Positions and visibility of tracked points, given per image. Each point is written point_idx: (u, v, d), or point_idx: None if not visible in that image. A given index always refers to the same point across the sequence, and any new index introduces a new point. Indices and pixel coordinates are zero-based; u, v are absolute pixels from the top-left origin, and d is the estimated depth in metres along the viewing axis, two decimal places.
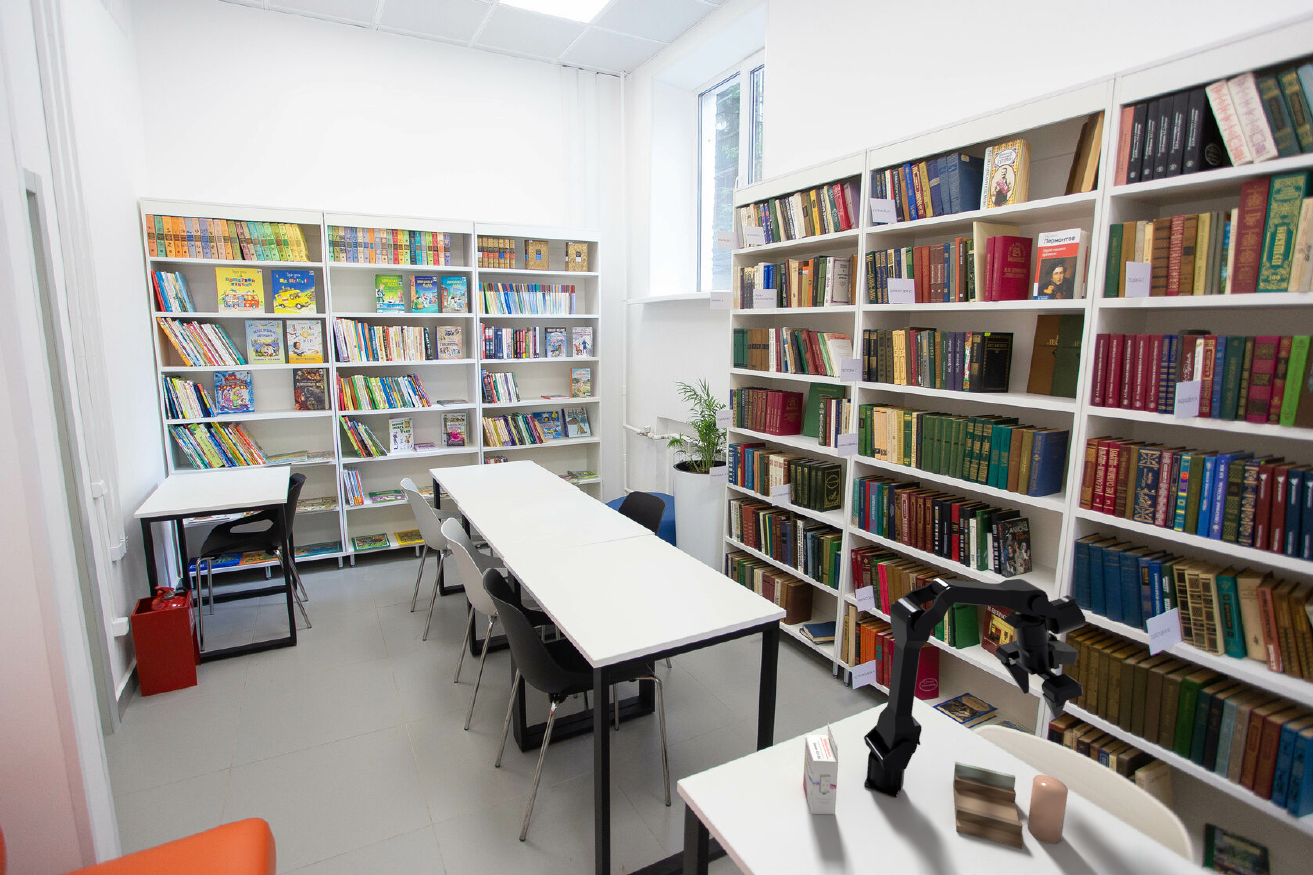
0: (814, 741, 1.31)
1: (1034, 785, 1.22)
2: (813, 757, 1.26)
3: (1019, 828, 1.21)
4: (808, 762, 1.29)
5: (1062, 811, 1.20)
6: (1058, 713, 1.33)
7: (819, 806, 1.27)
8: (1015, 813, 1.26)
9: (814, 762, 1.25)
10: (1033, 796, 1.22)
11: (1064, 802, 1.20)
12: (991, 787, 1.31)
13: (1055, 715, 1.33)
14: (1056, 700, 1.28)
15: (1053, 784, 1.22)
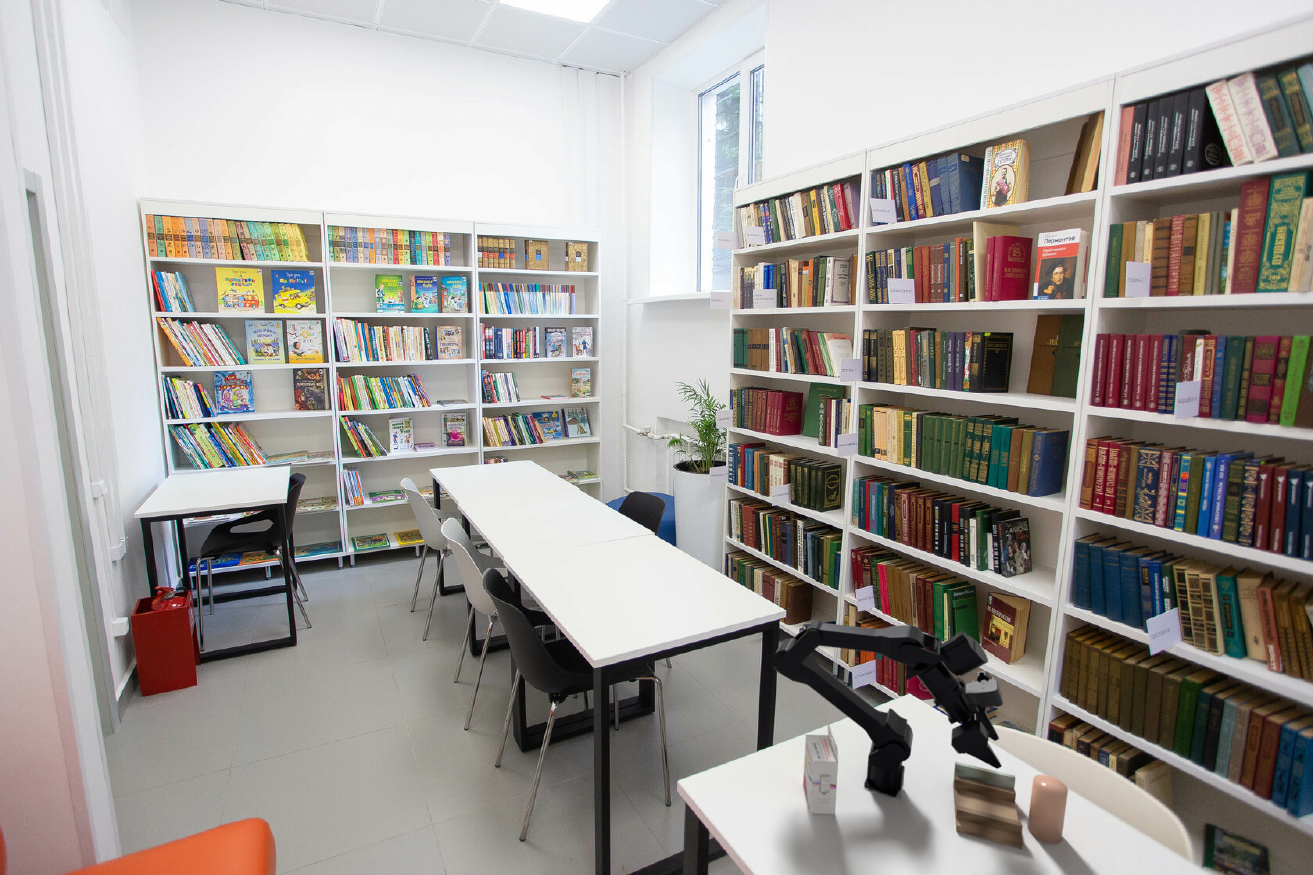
0: (814, 741, 1.31)
1: (1034, 785, 1.22)
2: (813, 757, 1.26)
3: (1019, 828, 1.21)
4: (808, 762, 1.29)
5: (1062, 811, 1.20)
6: (994, 763, 1.21)
7: (819, 806, 1.27)
8: (1015, 813, 1.26)
9: (814, 762, 1.25)
10: (1033, 796, 1.22)
11: (1064, 802, 1.20)
12: (991, 787, 1.31)
13: (992, 765, 1.21)
14: (957, 751, 1.20)
15: (1052, 784, 1.22)
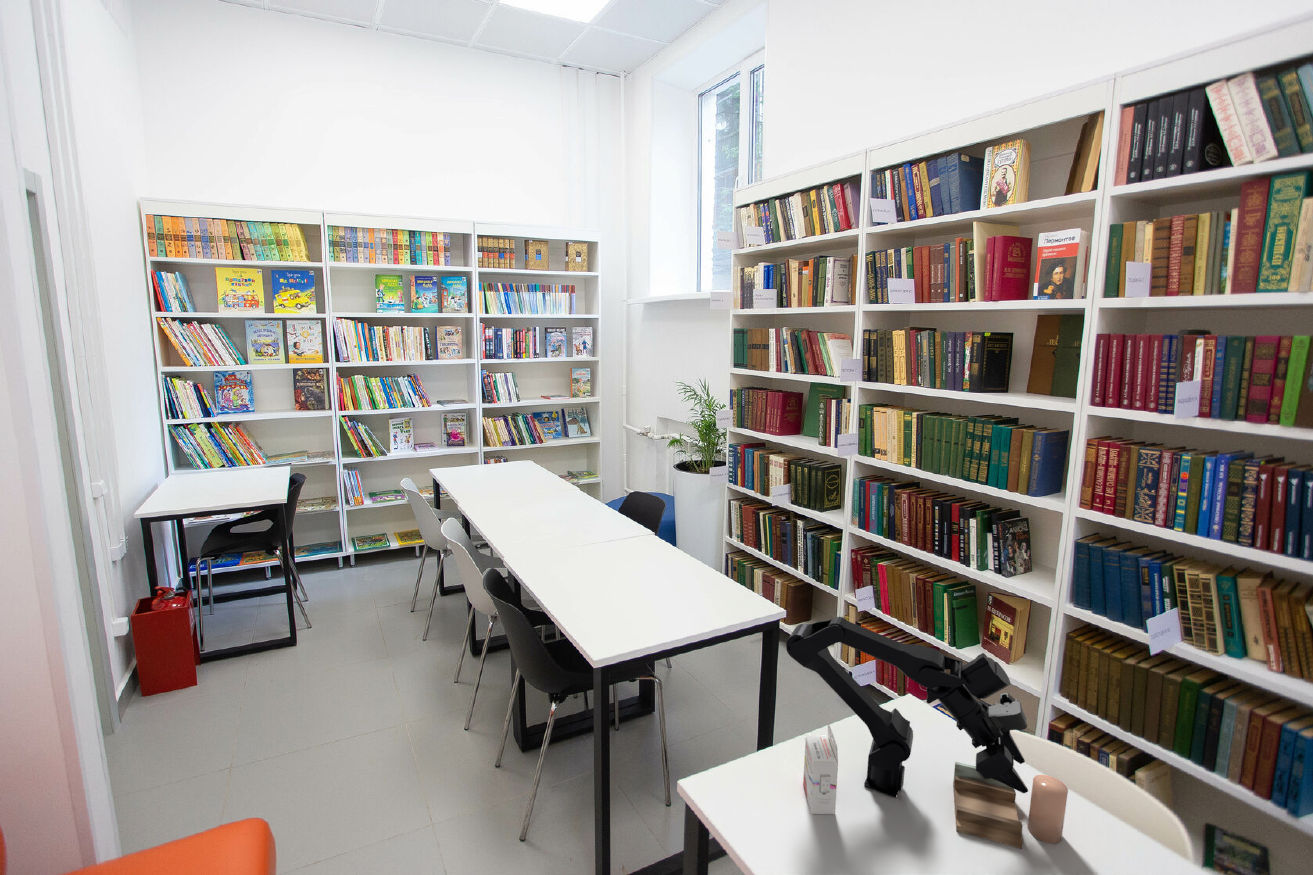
0: (814, 741, 1.31)
1: (1034, 785, 1.22)
2: (813, 757, 1.26)
3: (1019, 828, 1.21)
4: (808, 762, 1.29)
5: (1062, 811, 1.20)
6: (1020, 787, 1.19)
7: (819, 806, 1.27)
8: (1015, 813, 1.26)
9: (814, 762, 1.25)
10: (1033, 796, 1.22)
11: (1064, 802, 1.20)
12: (991, 787, 1.31)
13: (1018, 790, 1.19)
14: (982, 777, 1.18)
15: (1053, 784, 1.22)
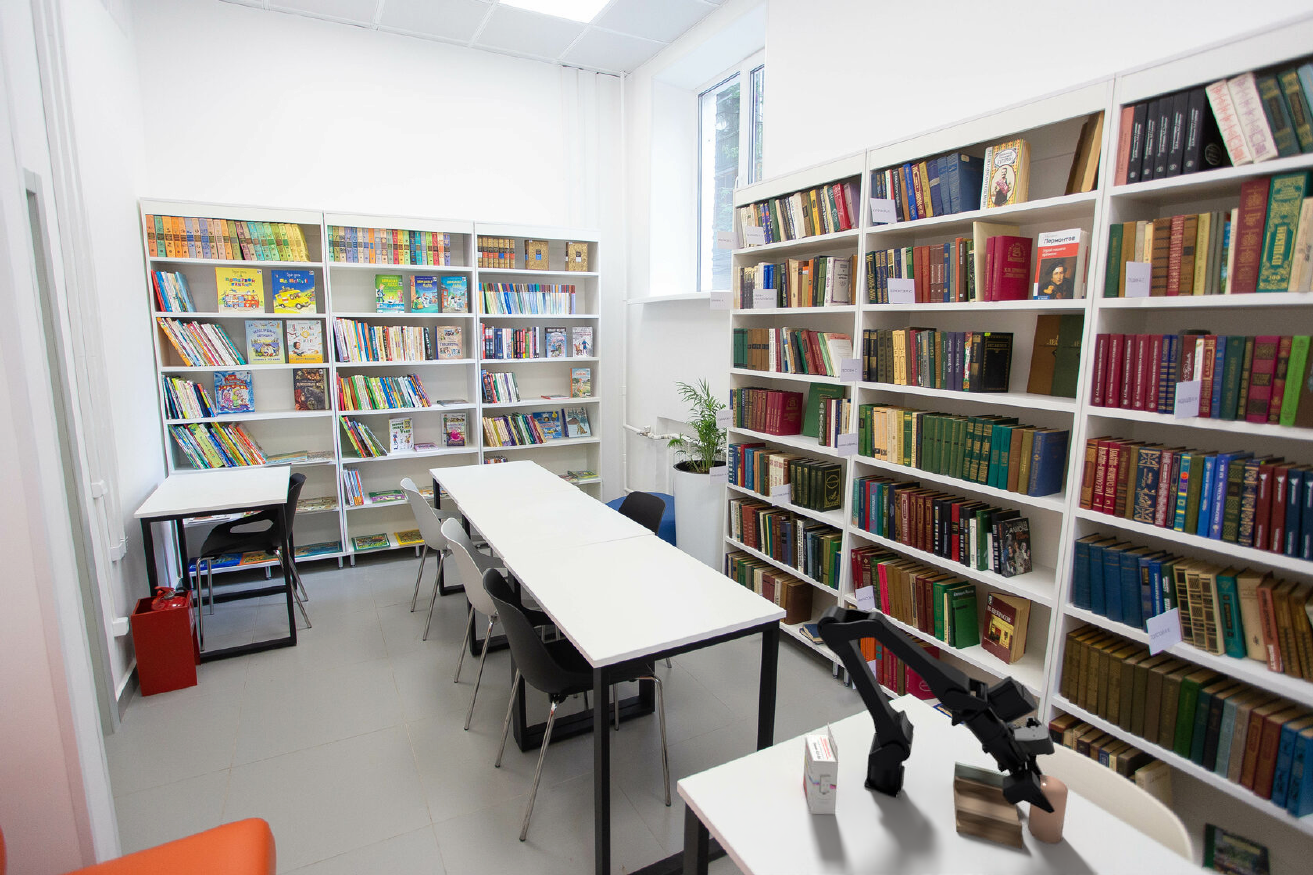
0: (814, 741, 1.31)
1: None
2: (813, 757, 1.26)
3: (1019, 828, 1.21)
4: (808, 762, 1.29)
5: (1062, 811, 1.20)
6: (1047, 807, 1.19)
7: (819, 806, 1.27)
8: (1015, 813, 1.26)
9: (814, 762, 1.25)
10: None
11: (1064, 802, 1.20)
12: (991, 787, 1.31)
13: (1045, 810, 1.19)
14: (1009, 802, 1.17)
15: (1053, 784, 1.22)
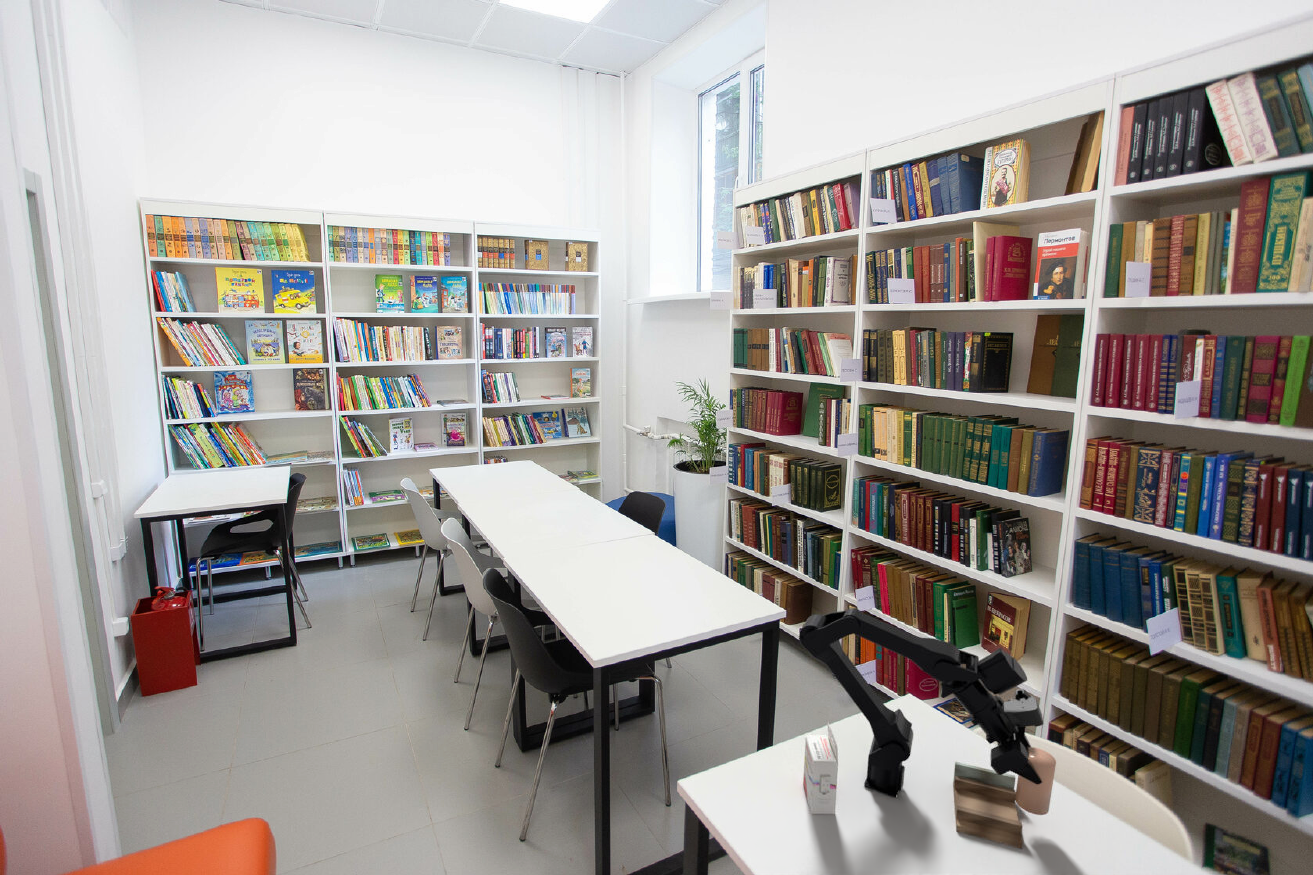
0: (814, 741, 1.31)
1: None
2: (813, 757, 1.26)
3: (1019, 828, 1.21)
4: (808, 762, 1.29)
5: (1050, 783, 1.20)
6: (1034, 778, 1.19)
7: (819, 806, 1.27)
8: (1015, 813, 1.26)
9: (814, 762, 1.25)
10: None
11: (1052, 773, 1.20)
12: (991, 787, 1.31)
13: (1032, 781, 1.20)
14: (997, 772, 1.17)
15: (1041, 756, 1.22)
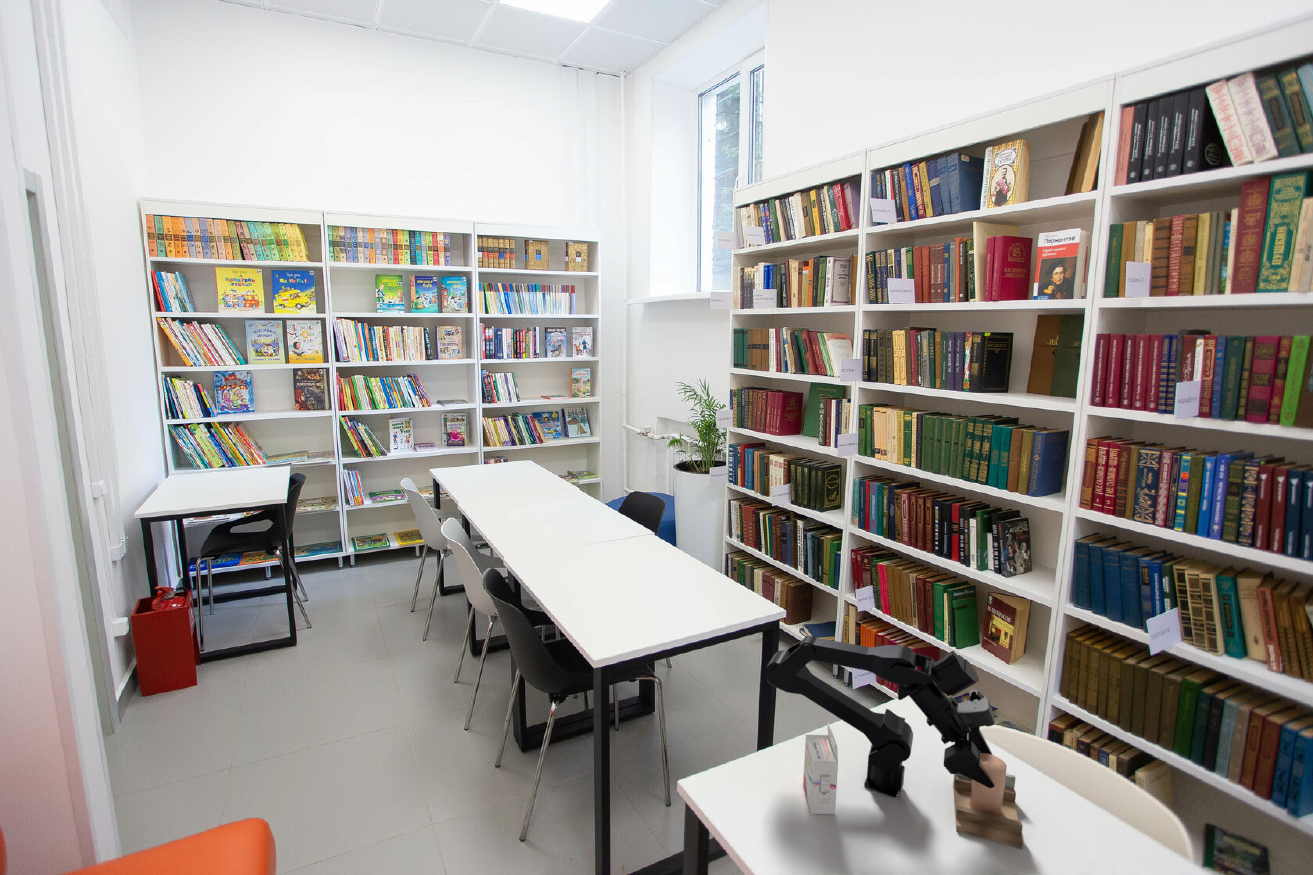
0: (814, 741, 1.31)
1: None
2: (813, 757, 1.26)
3: (1019, 828, 1.21)
4: (808, 762, 1.29)
5: (1001, 788, 1.24)
6: (987, 782, 1.22)
7: (819, 806, 1.27)
8: (1015, 813, 1.26)
9: (814, 762, 1.25)
10: None
11: (1002, 779, 1.24)
12: None
13: (985, 785, 1.22)
14: (949, 771, 1.21)
15: (992, 762, 1.26)
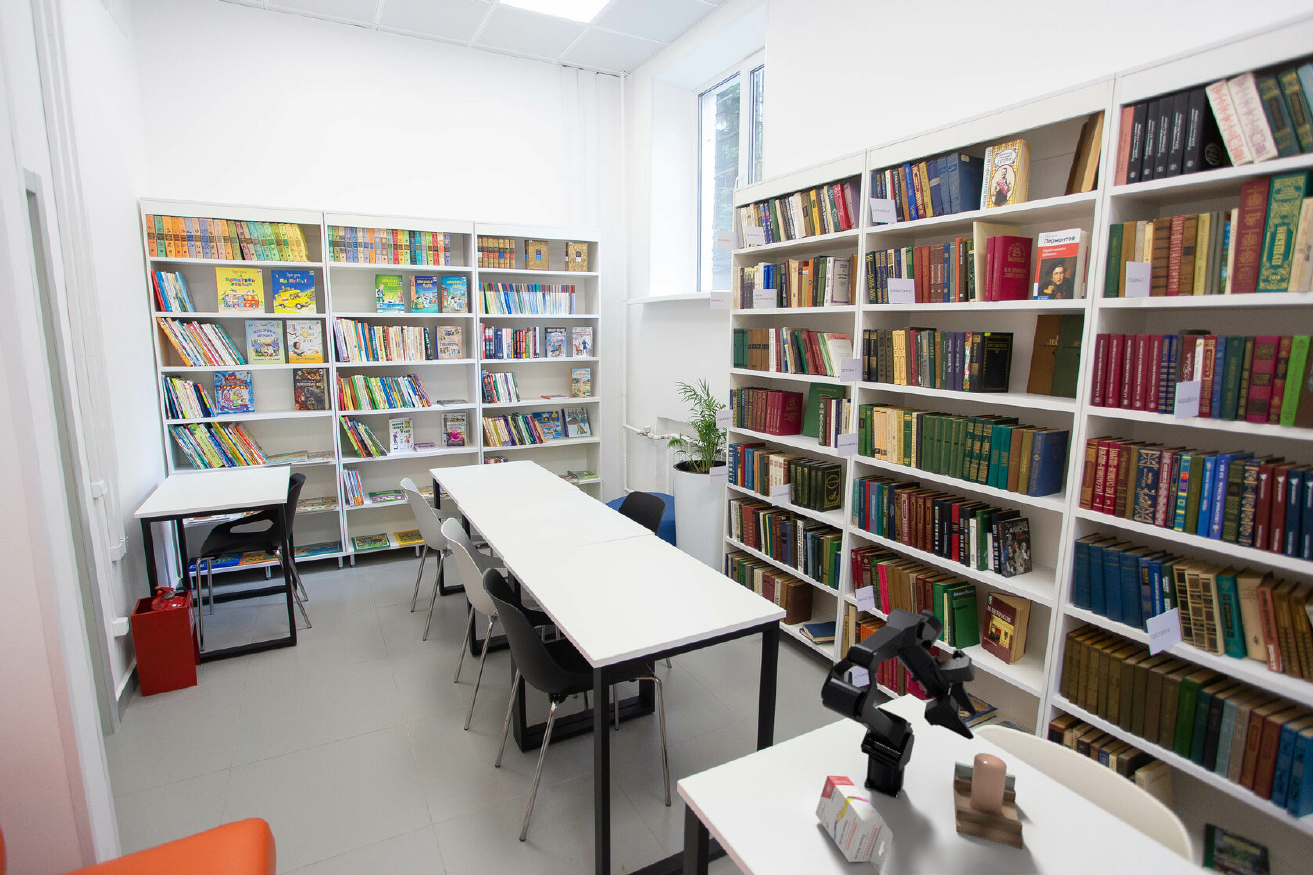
0: (864, 833, 1.14)
1: (975, 763, 1.26)
2: (851, 856, 1.15)
3: (1019, 828, 1.21)
4: (844, 828, 1.17)
5: (1001, 788, 1.24)
6: (966, 734, 1.29)
7: None
8: (1015, 813, 1.26)
9: (848, 859, 1.15)
10: (974, 773, 1.27)
11: (1002, 779, 1.24)
12: None
13: (965, 736, 1.29)
14: (929, 723, 1.28)
15: (992, 762, 1.26)
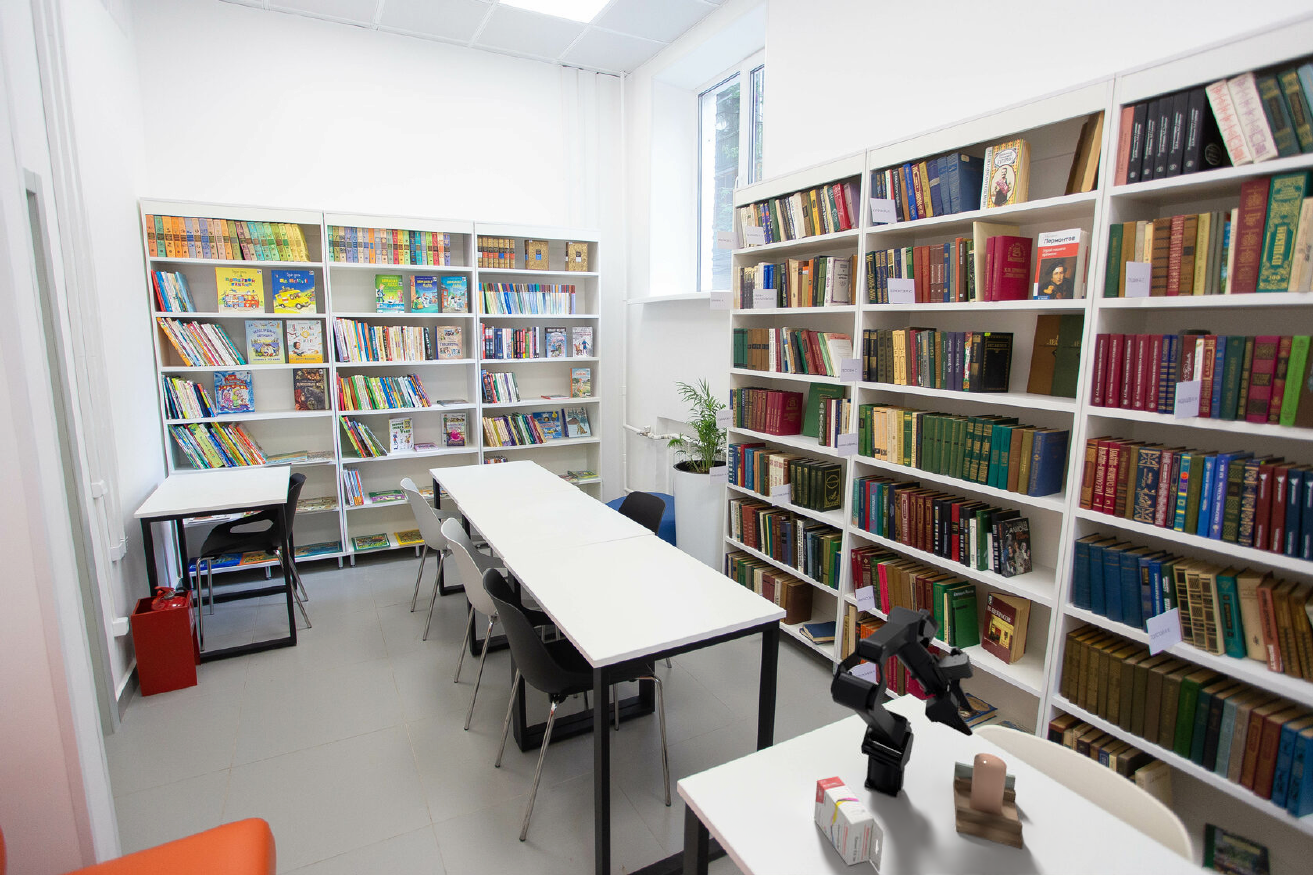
0: (856, 835, 1.14)
1: (975, 763, 1.26)
2: (848, 859, 1.15)
3: (1019, 828, 1.21)
4: (838, 832, 1.17)
5: (1001, 788, 1.24)
6: (966, 730, 1.30)
7: None
8: (1015, 813, 1.26)
9: None
10: (974, 773, 1.27)
11: (1002, 779, 1.24)
12: None
13: (964, 733, 1.31)
14: (930, 720, 1.29)
15: (992, 762, 1.26)
